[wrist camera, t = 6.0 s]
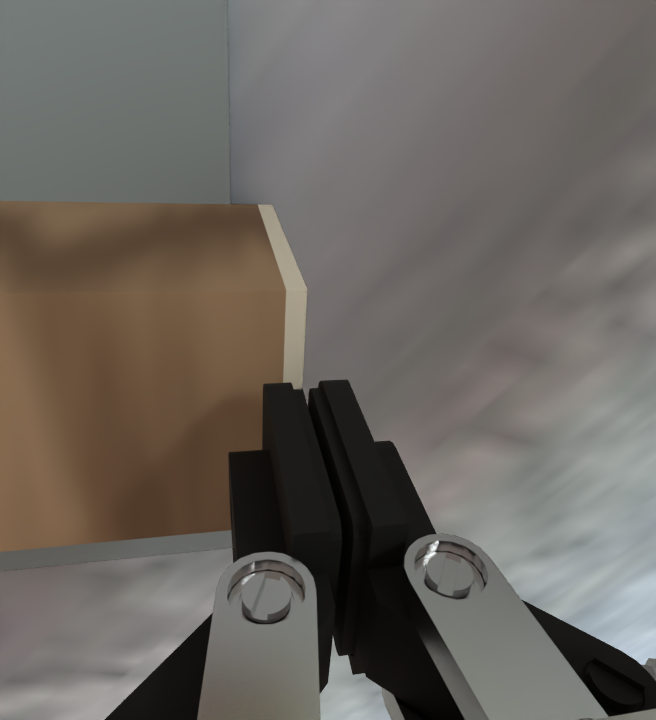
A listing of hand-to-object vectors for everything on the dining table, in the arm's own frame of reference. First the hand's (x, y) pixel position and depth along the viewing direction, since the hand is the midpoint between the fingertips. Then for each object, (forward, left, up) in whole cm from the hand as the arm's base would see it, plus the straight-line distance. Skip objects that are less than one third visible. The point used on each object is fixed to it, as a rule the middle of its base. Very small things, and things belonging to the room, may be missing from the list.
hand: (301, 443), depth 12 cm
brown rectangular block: (0, 0, -4) cm, 4 cm away
